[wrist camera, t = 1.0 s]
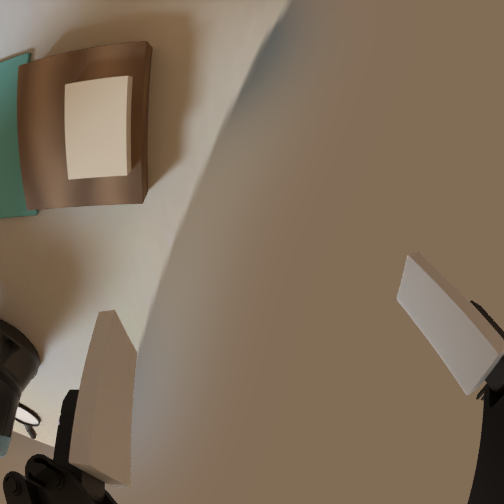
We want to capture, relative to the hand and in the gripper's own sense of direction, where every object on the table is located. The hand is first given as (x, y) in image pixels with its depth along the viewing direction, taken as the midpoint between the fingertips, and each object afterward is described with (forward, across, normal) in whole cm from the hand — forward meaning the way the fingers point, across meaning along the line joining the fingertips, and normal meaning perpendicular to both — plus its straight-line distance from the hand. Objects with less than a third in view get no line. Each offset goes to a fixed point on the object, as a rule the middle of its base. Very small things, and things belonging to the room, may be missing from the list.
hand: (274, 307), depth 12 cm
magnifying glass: (+23, -68, -54) cm, 90 cm away
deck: (+22, -14, +8) cm, 28 cm away
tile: (+18, -11, +8) cm, 23 cm away
